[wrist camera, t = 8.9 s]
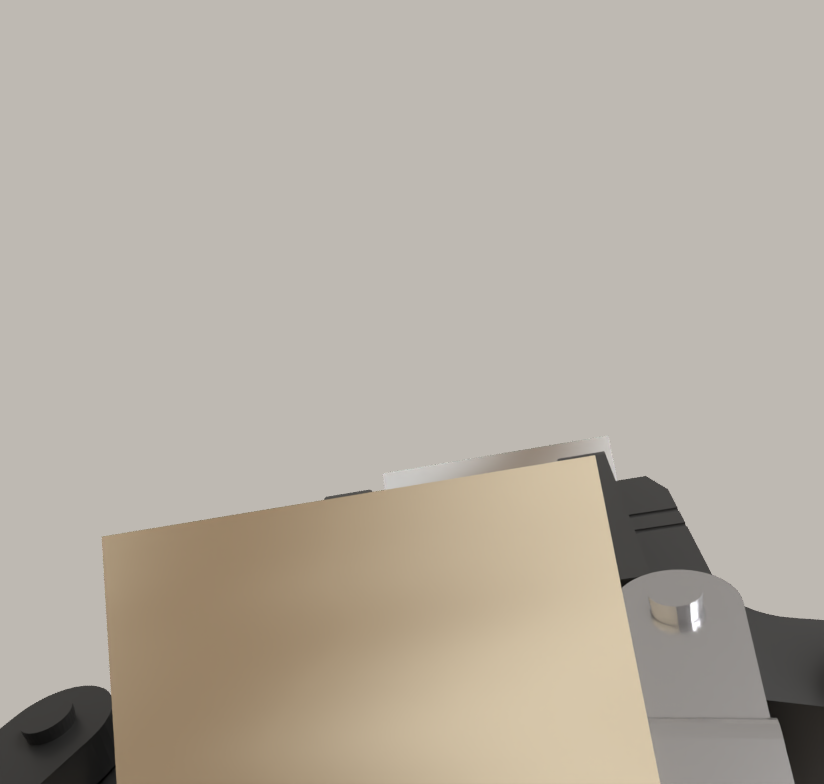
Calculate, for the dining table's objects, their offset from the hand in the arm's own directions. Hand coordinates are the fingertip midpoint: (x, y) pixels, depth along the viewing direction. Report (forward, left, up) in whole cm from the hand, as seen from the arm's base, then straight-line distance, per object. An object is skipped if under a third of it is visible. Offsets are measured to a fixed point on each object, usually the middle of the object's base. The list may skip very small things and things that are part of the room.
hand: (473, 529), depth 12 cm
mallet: (0, +3, -3) cm, 4 cm away
